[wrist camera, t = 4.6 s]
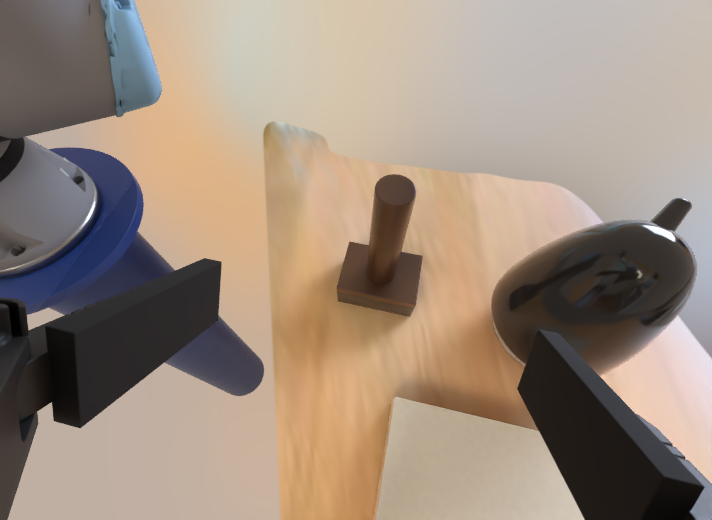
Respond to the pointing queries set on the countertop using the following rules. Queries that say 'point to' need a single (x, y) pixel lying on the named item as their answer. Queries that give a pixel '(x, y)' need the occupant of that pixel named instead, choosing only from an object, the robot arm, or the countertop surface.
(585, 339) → the black pear
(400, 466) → the tile
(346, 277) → the brown peg on base
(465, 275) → the countertop surface
